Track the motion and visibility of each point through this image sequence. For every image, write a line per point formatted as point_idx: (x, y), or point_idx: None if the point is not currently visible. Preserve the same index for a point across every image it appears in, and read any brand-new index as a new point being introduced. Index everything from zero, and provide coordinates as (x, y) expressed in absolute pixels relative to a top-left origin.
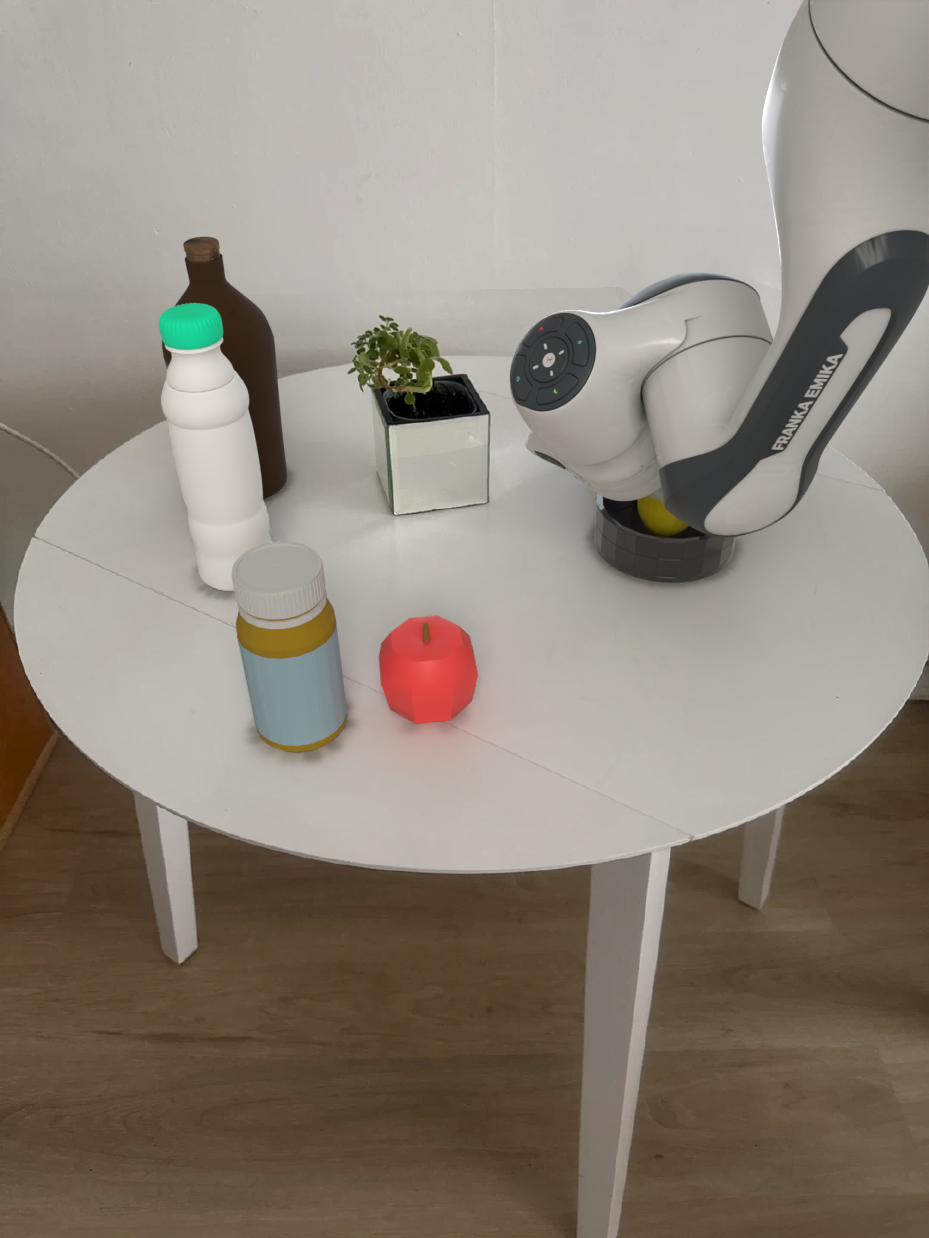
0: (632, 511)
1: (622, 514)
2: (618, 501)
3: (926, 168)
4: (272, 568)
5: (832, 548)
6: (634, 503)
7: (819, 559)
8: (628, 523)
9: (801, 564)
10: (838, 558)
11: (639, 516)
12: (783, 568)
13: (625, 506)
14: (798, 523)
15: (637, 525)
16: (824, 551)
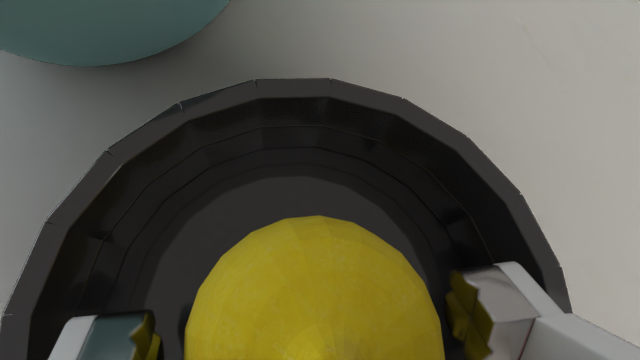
0: (146, 275)
1: None
2: (89, 307)
3: None
4: None
5: (567, 67)
6: (129, 243)
7: (579, 117)
8: (176, 342)
9: (571, 158)
10: (597, 90)
11: (180, 282)
12: (560, 198)
13: (115, 275)
14: (466, 30)
15: None
16: (565, 86)
